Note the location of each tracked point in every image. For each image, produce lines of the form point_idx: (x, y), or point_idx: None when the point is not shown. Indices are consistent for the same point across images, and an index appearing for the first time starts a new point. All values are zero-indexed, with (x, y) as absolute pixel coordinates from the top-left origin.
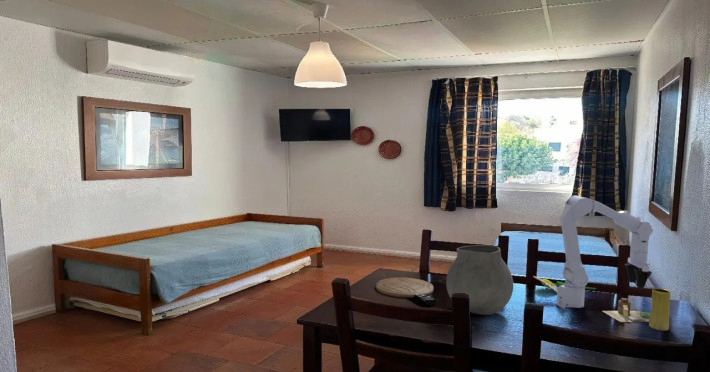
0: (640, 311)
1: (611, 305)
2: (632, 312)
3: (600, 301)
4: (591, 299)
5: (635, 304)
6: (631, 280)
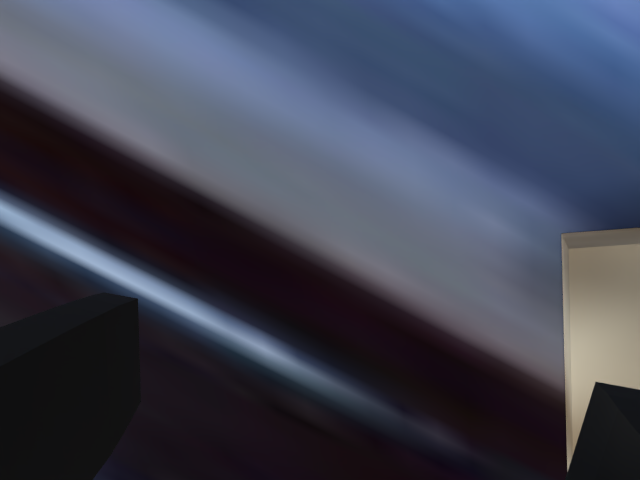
0: (599, 252)
1: (281, 381)
2: (637, 373)
3: (167, 418)
4: (124, 466)
5: (185, 77)
6: (115, 405)
